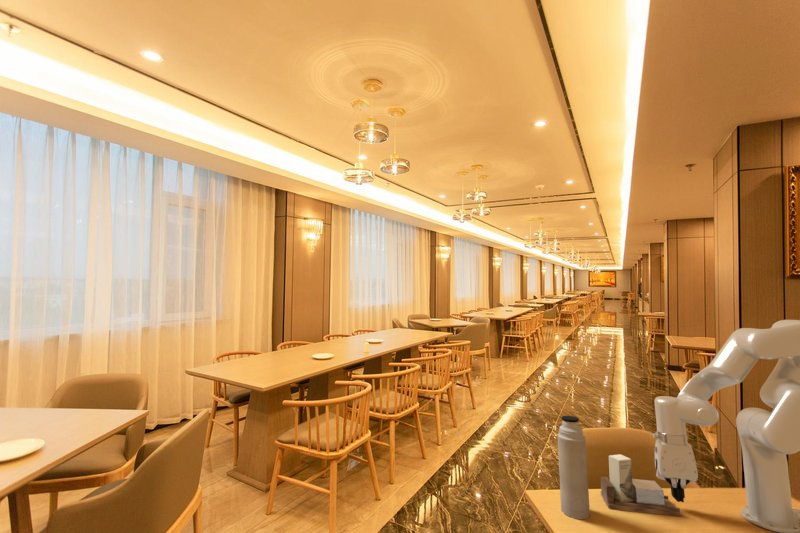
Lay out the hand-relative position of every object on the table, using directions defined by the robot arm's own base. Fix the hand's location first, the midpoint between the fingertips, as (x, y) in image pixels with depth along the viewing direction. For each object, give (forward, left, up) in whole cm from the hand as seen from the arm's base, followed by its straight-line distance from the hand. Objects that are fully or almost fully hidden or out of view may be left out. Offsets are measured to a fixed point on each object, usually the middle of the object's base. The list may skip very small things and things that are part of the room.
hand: (678, 499), depth 115 cm
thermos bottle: (+31, +8, -3) cm, 33 cm away
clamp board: (+11, 0, -3) cm, 11 cm away
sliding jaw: (+9, 0, -1) cm, 9 cm away
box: (+16, 0, -2) cm, 16 cm away
